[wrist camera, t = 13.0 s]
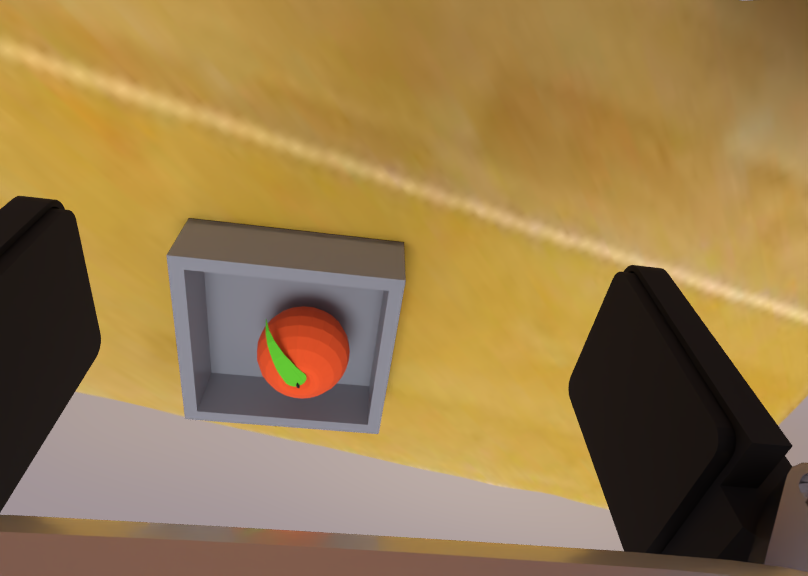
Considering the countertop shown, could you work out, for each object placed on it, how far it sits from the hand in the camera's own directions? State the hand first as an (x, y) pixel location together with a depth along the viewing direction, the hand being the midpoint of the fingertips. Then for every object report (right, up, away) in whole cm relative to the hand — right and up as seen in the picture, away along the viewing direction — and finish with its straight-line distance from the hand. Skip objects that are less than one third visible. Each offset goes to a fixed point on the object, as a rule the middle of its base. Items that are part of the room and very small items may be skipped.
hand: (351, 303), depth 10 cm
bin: (-8, -2, +36) cm, 37 cm away
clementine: (-7, -2, +36) cm, 36 cm away
